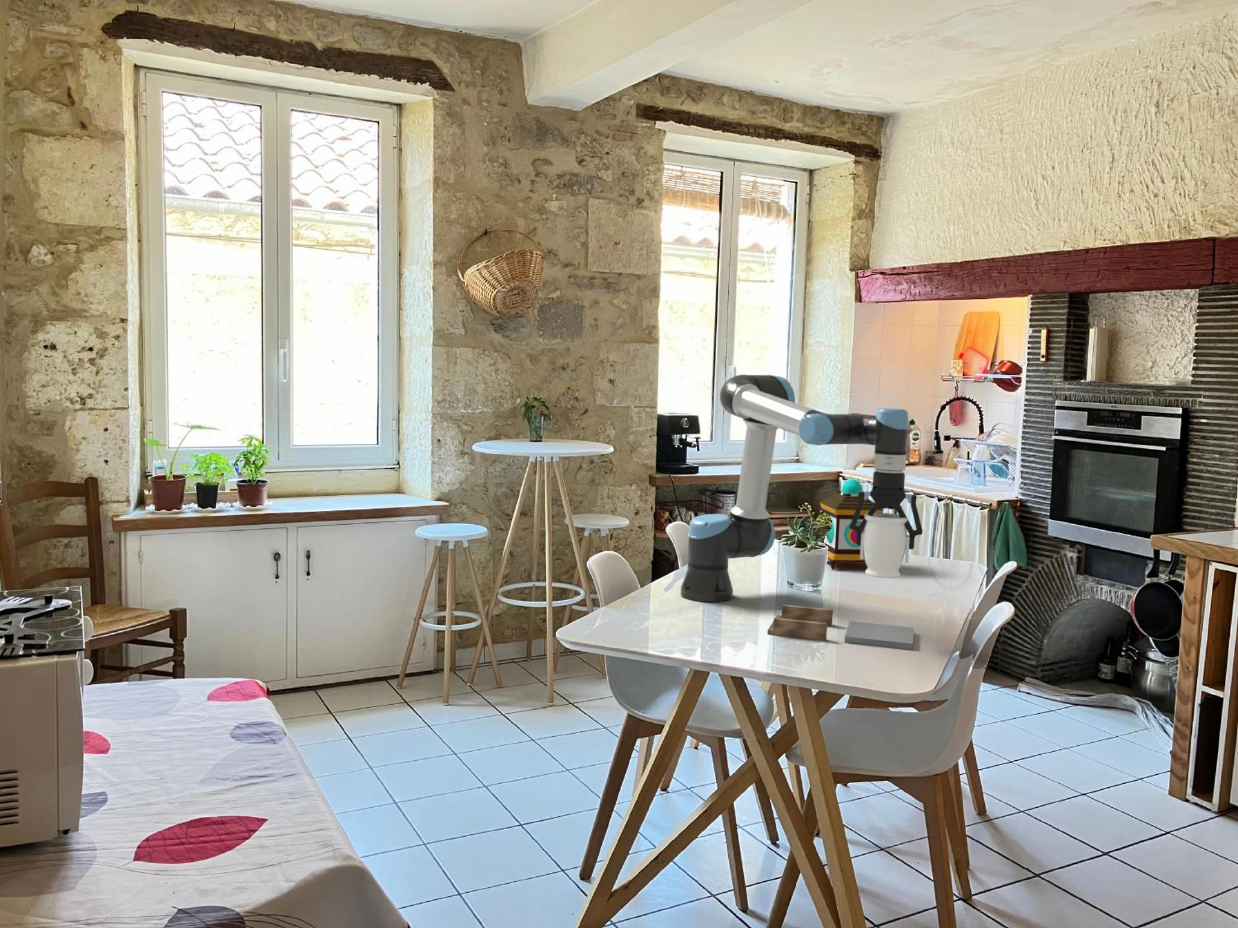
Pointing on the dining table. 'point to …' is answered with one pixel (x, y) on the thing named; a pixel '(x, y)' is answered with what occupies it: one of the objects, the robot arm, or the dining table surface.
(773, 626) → the brown wooden u-shaped frame
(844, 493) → the decorative lantern
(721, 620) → the dining table surface
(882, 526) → the jar
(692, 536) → the robot arm
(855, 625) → the plate
